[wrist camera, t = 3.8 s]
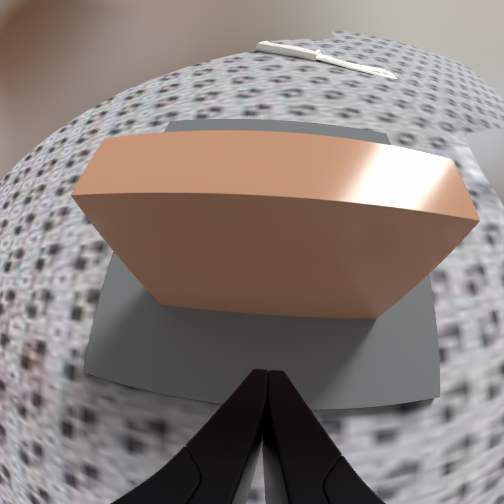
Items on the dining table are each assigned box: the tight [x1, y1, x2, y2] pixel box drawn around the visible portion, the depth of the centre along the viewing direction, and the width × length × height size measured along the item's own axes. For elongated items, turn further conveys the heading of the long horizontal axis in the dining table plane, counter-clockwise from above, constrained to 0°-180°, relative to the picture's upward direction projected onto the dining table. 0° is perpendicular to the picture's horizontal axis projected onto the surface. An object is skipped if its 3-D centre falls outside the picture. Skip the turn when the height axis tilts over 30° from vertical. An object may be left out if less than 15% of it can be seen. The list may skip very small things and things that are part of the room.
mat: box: [83, 119, 440, 410], centre depth 19 cm, size 24×22×1 cm
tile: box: [71, 130, 480, 319], centre depth 12 cm, size 3×13×10 cm, turn 85°
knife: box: [256, 41, 397, 79], centre depth 35 cm, size 31×6×2 cm, turn 76°
